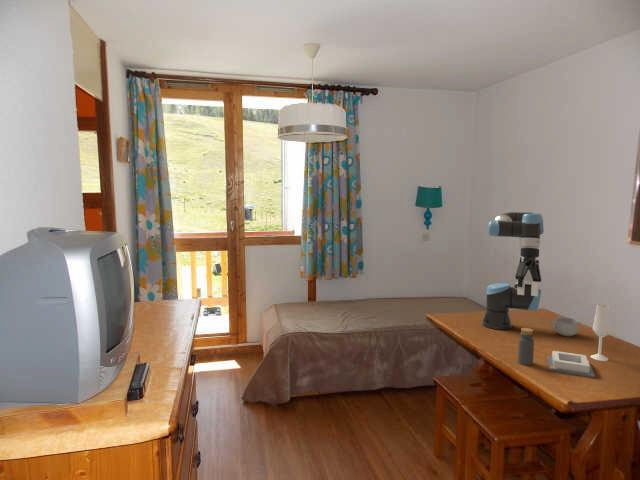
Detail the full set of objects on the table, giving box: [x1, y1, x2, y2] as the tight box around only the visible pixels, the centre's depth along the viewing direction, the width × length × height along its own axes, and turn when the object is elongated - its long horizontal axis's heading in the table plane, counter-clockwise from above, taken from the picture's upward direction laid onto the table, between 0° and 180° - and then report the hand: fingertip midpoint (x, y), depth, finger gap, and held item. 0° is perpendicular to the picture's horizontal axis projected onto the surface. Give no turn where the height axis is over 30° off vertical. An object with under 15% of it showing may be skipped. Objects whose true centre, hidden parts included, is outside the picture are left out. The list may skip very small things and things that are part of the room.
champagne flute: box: [590, 303, 612, 362], centre depth 188 cm, size 7×7×24 cm
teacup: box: [549, 316, 580, 337], centre depth 220 cm, size 14×11×8 cm
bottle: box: [517, 327, 535, 366], centre depth 183 cm, size 6×6×15 cm
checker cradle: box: [546, 350, 596, 379], centre depth 179 cm, size 16×16×4 cm
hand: (527, 295), depth 188 cm, fingers open, 13 cm apart
